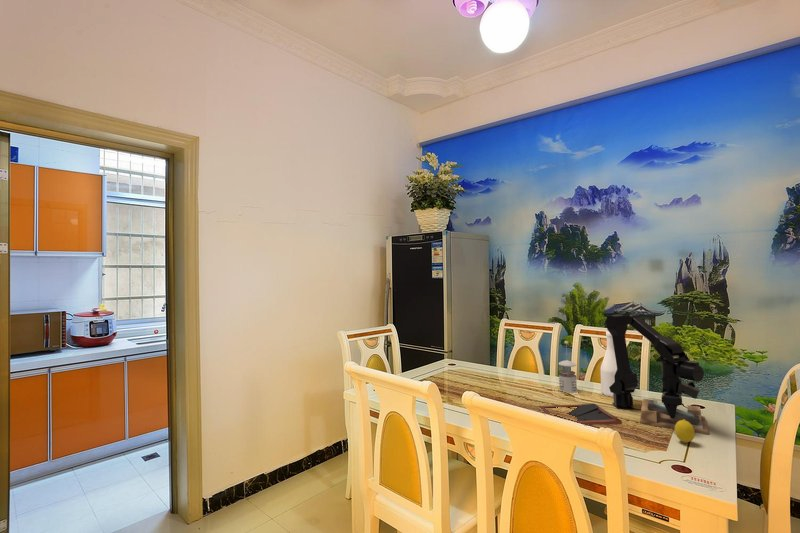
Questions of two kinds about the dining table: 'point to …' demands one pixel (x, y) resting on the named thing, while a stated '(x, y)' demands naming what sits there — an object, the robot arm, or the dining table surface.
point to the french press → (567, 381)
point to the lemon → (684, 431)
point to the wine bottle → (608, 367)
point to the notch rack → (665, 421)
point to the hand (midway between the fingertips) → (672, 416)
